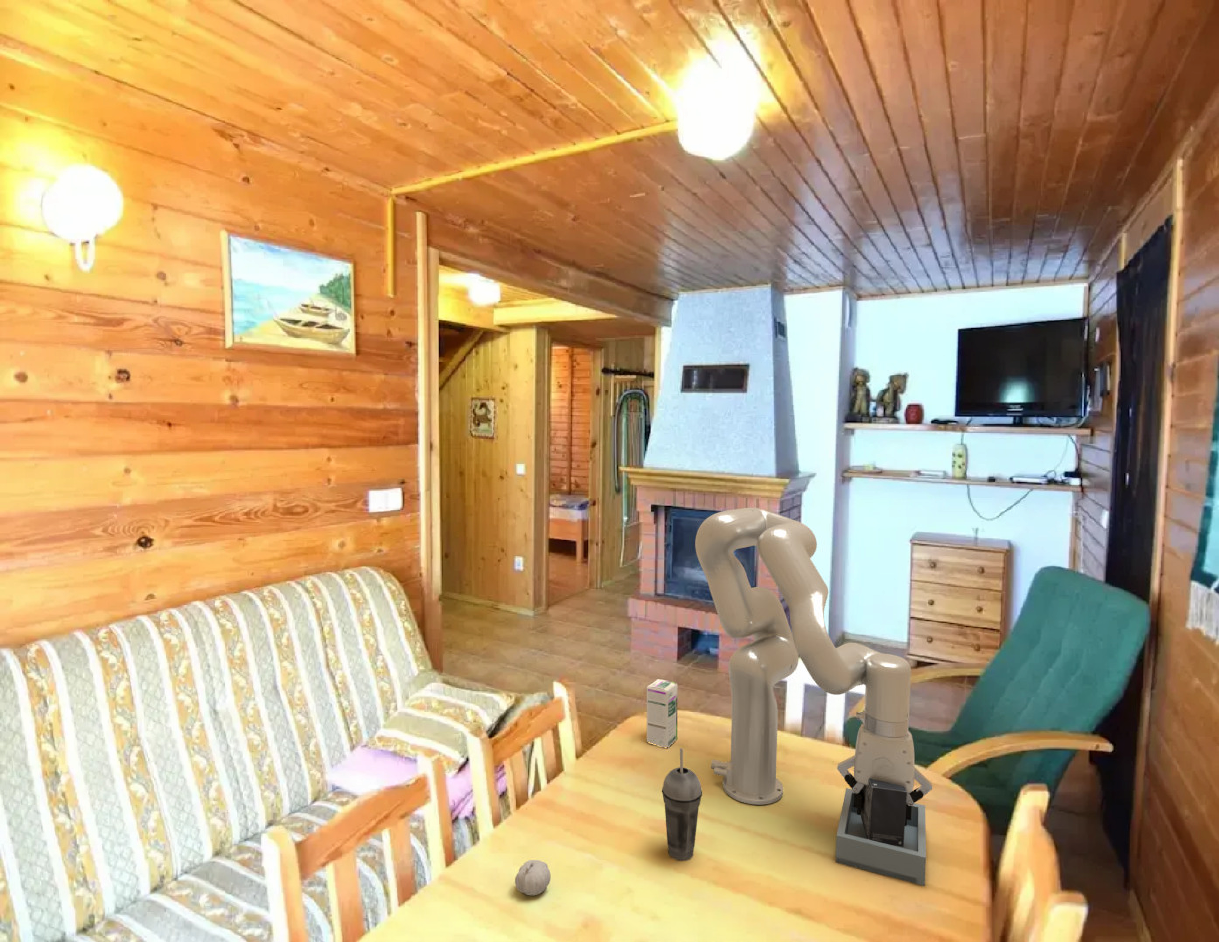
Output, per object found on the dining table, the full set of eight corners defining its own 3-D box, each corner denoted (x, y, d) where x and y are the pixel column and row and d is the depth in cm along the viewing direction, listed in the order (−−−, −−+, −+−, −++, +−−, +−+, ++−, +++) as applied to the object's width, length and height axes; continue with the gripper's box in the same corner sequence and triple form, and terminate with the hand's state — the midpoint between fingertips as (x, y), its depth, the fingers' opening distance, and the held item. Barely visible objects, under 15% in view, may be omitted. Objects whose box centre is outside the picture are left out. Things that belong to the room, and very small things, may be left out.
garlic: (525, 907, 108) (525, 876, 108) (509, 888, 113) (509, 858, 112) (557, 892, 112) (557, 862, 112) (540, 874, 116) (540, 845, 116)
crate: (835, 862, 120) (836, 835, 120) (845, 811, 136) (846, 787, 136) (924, 885, 114) (926, 857, 114) (924, 830, 130) (925, 805, 130)
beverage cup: (704, 845, 125) (706, 740, 123) (696, 869, 118) (698, 758, 117) (666, 836, 127) (668, 733, 126) (656, 860, 120) (657, 751, 119)
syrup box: (667, 749, 162) (668, 690, 161) (645, 743, 164) (646, 685, 164) (677, 740, 166) (678, 682, 165) (656, 734, 169) (657, 677, 168)
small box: (906, 848, 119) (909, 791, 119) (867, 843, 121) (870, 786, 120) (894, 814, 130) (896, 761, 129) (858, 810, 131) (860, 758, 130)
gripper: (833, 722, 124) (830, 815, 125) (939, 742, 117) (934, 840, 118) (838, 706, 131) (834, 795, 132) (938, 724, 124) (933, 817, 125)
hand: (881, 815), depth 125 cm, fingers closed on small box, 7 cm apart
